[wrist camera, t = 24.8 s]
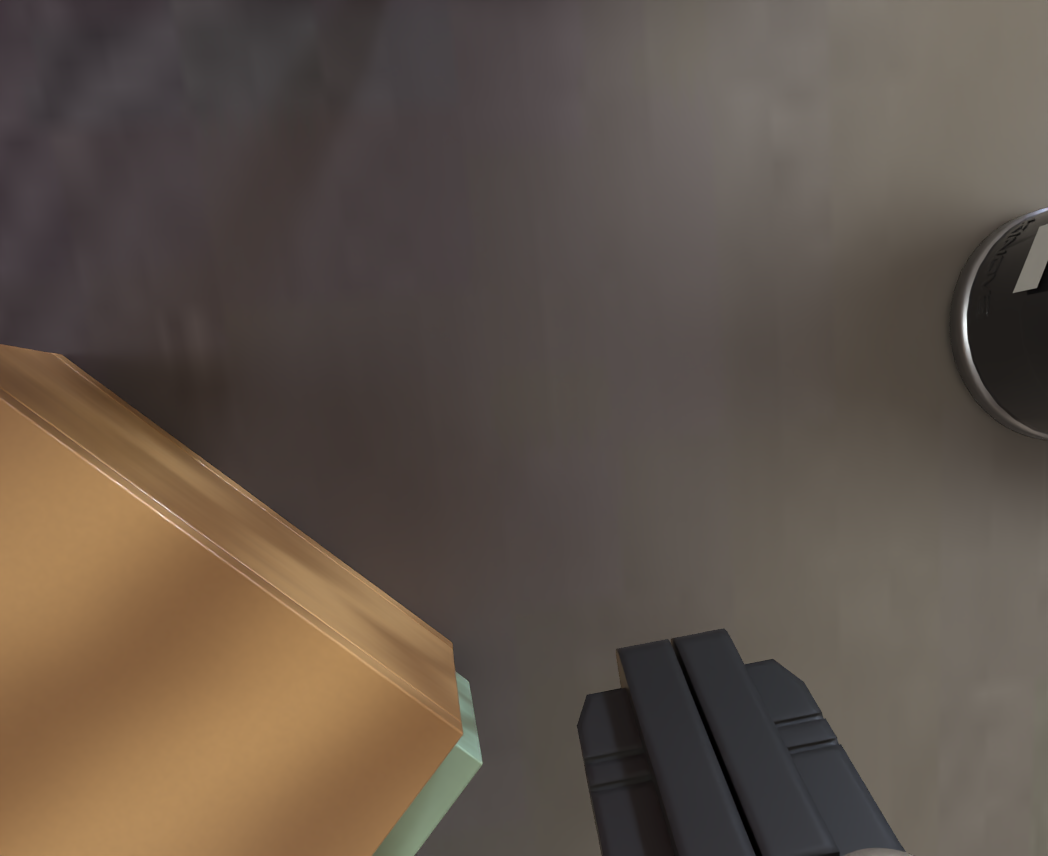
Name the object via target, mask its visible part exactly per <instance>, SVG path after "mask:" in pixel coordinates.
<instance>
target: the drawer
mask: <svg viewBox="0 0 1048 856" xmlns="http://www.w3.org/2000/svg"><path fill="white" fill-rule="evenodd" d="M456 680H457V688H458V696H459V705H460V713H461V721H462V727H463V736H462V737H461V738H460V740H459V741H458V742H457V744H456V745H455V746H454V748H453V749H452V750H451V751H450V753H449V754H448V755H447V757H446V758H445V759H444V761H443V762H442V763H441V765H440V766H439V767H438V769H437V770H436V771H435V773H434V774H433V775H432V777H431V778H430V779H429V781H428V782H427V783H426V785H425V786H424V787H423V789H422V790H421V791H420V793H419V794H418V795H417V797H416V798H415V799H414V801H413V802H412V803H411V805H410V806H409V807H408V809H407V810H406V811H405V813H404V814H403V815H402V817H401V818H400V819H399V821H398V822H397V823H396V825H395V826H394V827H393V829H392V830H391V831H390V833H389V834H388V835H387V837H386V838H385V839H384V841H383V842H382V843H381V845H380V846H379V847H378V849H377V850H376V851H375V853H374V854H373V855H372V856H414V855H415V854H416V853H417V851H418V850H419V849H420V847H421V846H422V845H423V843H424V842H425V841H426V839H427V838H428V837H429V835H430V834H431V833H432V831H433V830H434V829H435V827H436V826H437V825H438V823H439V822H440V821H441V819H442V818H443V817H444V815H445V814H446V813H447V811H448V810H449V809H450V807H451V806H452V805H453V803H454V802H455V801H456V799H457V798H458V796H459V795H460V794H461V792H462V791H463V790H464V788H465V787H466V786H467V784H468V783H469V782H470V780H471V779H472V778H473V776H474V775H475V774H476V772H477V771H478V770H479V768H480V767H481V766H482V764H483V762H482V756H481V750H480V744H479V738H478V732H477V727H476V721H475V715H474V709H473V703H472V697H471V691H470V685H469V681H467V680H466V679H465V678H463V677H462V676H461V675H459V674H458V673H457V672H456Z"/></svg>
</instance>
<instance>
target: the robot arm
mask: <svg viewBox="0 0 1048 856" xmlns="http://www.w3.org/2000/svg"><path fill="white" fill-rule="evenodd" d="M950 338H951V345H952V350H953V355H954V359H955V362H956V365H957V368H958V370H959V373H960V375H961V377H962V380H963V381H964V383H965V385H966V387H967V389H968V390H969V392H970V393H971V395H972V396H973V397H974V399H975V400H976V401H977V402H978V404H979V405H980V406H981V407H982V408H983V409H984V410H985V411H986V412H987V413H988V414H989V415H990V416H992V417H993V418H994V419H995V420H997V421H998V422H999V423H1001V424H1003V425H1004V426H1006V427H1007V428H1009V429H1011V430H1013V431H1015V432H1018V433H1020V434H1023V435H1026V436H1029V437H1033V438H1037V439H1044V440H1048V208H1044V209H1040V210H1037V211H1035V212H1032V213H1029V214H1026V215H1023V216H1020V217H1017V218H1015V219H1013V220H1011V221H1009V222H1007V223H1005V224H1004V225H1002V226H1001V227H999V228H997V229H996V230H995V231H994V232H992V233H991V234H990V235H989V236H988V237H987V238H986V239H984V240H983V241H982V242H981V244H980V245H979V246H978V247H977V248H976V249H975V251H974V252H973V253H972V255H971V256H970V258H969V259H968V261H967V263H966V264H965V266H964V268H963V270H962V272H961V274H960V277H959V279H958V281H957V284H956V287H955V290H954V295H953V299H952V304H951V311H950ZM616 657H617V664H618V670H619V677H620V683H621V688H620V689H615V690H610V691H605V692H600V693H594V694H589V695H587V696H586V699H585V702H584V705H583V709H582V712H581V715H580V718H579V721H578V724H577V728H578V734H579V739H580V744H581V750H582V755H583V761H584V766H585V771H586V777H587V782H588V787H589V793H590V798H591V804H592V809H593V814H594V819H595V824H596V829H597V834H598V839H599V844H600V849H601V854H602V856H914V855H912V854H909V853H907V852H906V851H905V850H904V848H903V847H902V846H901V844H900V843H899V841H898V839H897V838H896V836H895V834H894V833H893V831H892V829H891V828H890V826H889V824H888V823H887V821H886V819H885V818H884V816H883V814H882V813H881V811H880V809H879V808H878V806H877V804H876V803H875V801H874V799H873V797H872V796H871V794H870V792H869V791H868V789H867V787H866V786H865V784H864V782H863V781H862V779H861V777H860V776H859V774H858V772H857V771H856V769H855V767H854V766H853V764H852V762H851V761H850V759H849V757H848V756H847V754H846V752H845V750H844V749H843V747H842V745H841V744H840V745H839V744H838V741H837V737H836V735H835V734H834V732H833V730H832V729H831V727H830V725H829V724H828V722H827V720H826V719H824V718H823V716H822V712H821V710H820V709H819V707H818V705H817V704H816V702H815V700H814V698H813V697H812V695H811V693H810V692H809V690H808V688H807V687H806V685H805V683H804V682H803V681H802V680H800V679H799V678H798V677H796V676H795V675H794V674H792V673H791V672H790V671H788V670H787V669H786V668H784V667H783V666H782V665H780V664H779V663H778V662H776V661H775V660H774V659H771V660H765V661H760V662H755V663H750V664H745V665H744V663H743V661H742V659H741V657H740V655H739V653H738V651H737V649H736V647H735V645H734V643H733V641H732V639H731V638H730V636H729V634H728V632H727V631H726V630H725V629H718V630H713V631H708V632H703V633H698V634H692V635H687V636H682V637H677V638H672V639H671V643H670V641H669V640H668V639H665V640H660V641H655V642H650V643H645V644H640V645H634V646H629V647H624V648H619V649H616Z"/></svg>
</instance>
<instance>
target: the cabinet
mask: <svg viewBox="0 0 1048 856" xmlns="http://www.w3.org/2000/svg"><path fill="white" fill-rule="evenodd" d="M462 736H463V727H462V721H461V713H460V705H459V696H458V688H457V680H456V672H455V664H454V656H453V644H452V642H451V641H449V640H448V639H447V638H445V637H444V636H443V635H441V634H440V633H439V632H437V631H436V630H435V629H433V628H432V627H430V626H429V625H428V624H426V623H425V622H424V621H422V620H421V619H420V618H418V617H417V616H416V615H414V614H413V613H411V612H410V611H409V610H407V609H406V608H405V607H403V606H402V605H401V604H399V603H398V602H397V601H395V600H394V599H392V598H391V597H390V596H388V595H387V594H386V593H384V592H383V591H382V590H380V589H379V588H378V587H376V586H375V585H373V584H372V583H371V582H369V581H368V580H367V579H365V578H364V577H363V576H361V575H360V574H359V573H357V572H356V571H354V570H353V569H352V568H350V567H349V566H348V565H346V564H345V563H344V562H342V561H341V560H340V559H338V558H337V557H335V556H334V555H333V554H331V553H330V552H329V551H327V550H326V549H325V548H323V547H322V546H321V545H319V544H318V543H316V542H315V541H314V540H312V539H311V538H310V537H308V536H307V535H306V534H304V533H303V532H302V531H300V530H299V529H297V528H296V527H295V526H293V525H292V524H291V523H289V522H288V521H287V520H285V519H284V518H283V517H281V516H280V515H278V514H277V513H276V512H274V511H273V510H272V509H270V508H269V507H268V506H266V505H265V504H264V503H262V502H261V501H259V500H258V499H257V498H255V497H254V496H253V495H251V494H250V493H249V492H247V491H246V490H245V489H243V488H242V487H240V486H239V485H238V484H236V483H235V482H234V481H232V480H231V479H230V478H228V477H227V476H226V475H224V474H223V473H221V472H220V471H219V470H217V469H216V468H215V467H213V466H212V465H211V464H209V463H208V462H207V461H205V460H204V459H203V458H201V457H200V456H198V455H197V454H196V453H194V452H193V451H192V450H190V449H189V448H188V447H186V446H185V445H184V444H182V443H181V442H179V441H178V440H177V439H175V438H174V437H173V436H171V435H170V434H169V433H167V432H166V431H165V430H163V429H162V428H160V427H159V426H158V425H156V424H155V423H154V422H152V421H151V420H150V419H148V418H147V417H146V416H144V415H143V414H141V413H140V412H139V411H137V410H136V409H135V408H133V407H132V406H131V405H129V404H128V403H127V402H125V401H124V400H122V399H121V398H120V397H118V396H117V395H116V394H114V393H113V392H112V391H110V390H109V389H108V388H106V387H105V386H103V385H102V384H101V383H99V382H98V381H97V380H95V379H94V378H93V377H91V376H90V375H89V374H87V373H86V372H84V371H83V370H82V369H80V368H79V367H78V366H76V365H75V364H74V363H72V362H71V361H70V360H68V359H67V358H65V357H64V356H63V355H61V354H56V353H48V352H42V351H36V350H31V349H25V348H19V347H14V346H8V345H2V344H0V856H372V855H373V854H374V853H375V851H376V850H377V849H378V847H379V846H380V845H381V843H382V842H383V841H384V839H385V838H386V837H387V835H388V834H389V833H390V831H391V830H392V829H393V827H394V826H395V825H396V823H397V822H398V821H399V819H400V818H401V817H402V815H403V814H404V813H405V811H406V810H407V809H408V807H409V806H410V805H411V803H412V802H413V801H414V799H415V798H416V797H417V795H418V794H419V793H420V791H421V790H422V789H423V787H424V786H425V785H426V783H427V782H428V781H429V779H430V778H431V777H432V775H433V774H434V773H435V771H436V770H437V769H438V767H439V766H440V765H441V763H442V762H443V761H444V759H445V758H446V757H447V755H448V754H449V753H450V751H451V750H452V749H453V748H454V746H455V745H456V744H457V742H458V741H459V740H460V738H461V737H462Z"/></svg>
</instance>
